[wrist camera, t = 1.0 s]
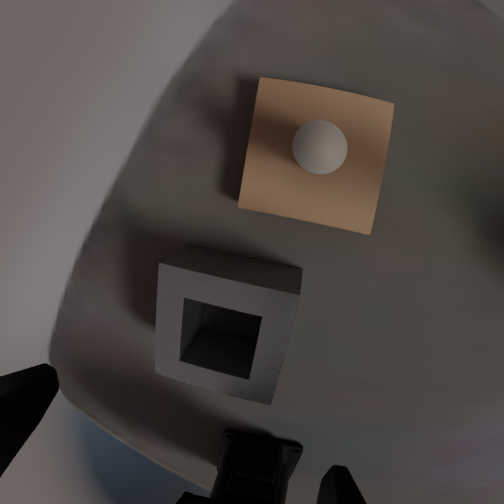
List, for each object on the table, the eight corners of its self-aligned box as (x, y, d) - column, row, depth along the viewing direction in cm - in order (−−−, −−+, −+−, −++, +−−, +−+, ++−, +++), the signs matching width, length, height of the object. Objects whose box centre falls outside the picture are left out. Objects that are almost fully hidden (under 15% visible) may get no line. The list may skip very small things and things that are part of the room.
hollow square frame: (278, 366, 20) (270, 404, 17) (179, 340, 21) (155, 372, 17) (302, 268, 18) (300, 295, 15) (187, 243, 19) (159, 262, 15)
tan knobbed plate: (365, 229, 17) (389, 259, 11) (243, 204, 18) (211, 221, 12) (387, 108, 15) (422, 83, 9) (264, 84, 16) (242, 47, 10)
